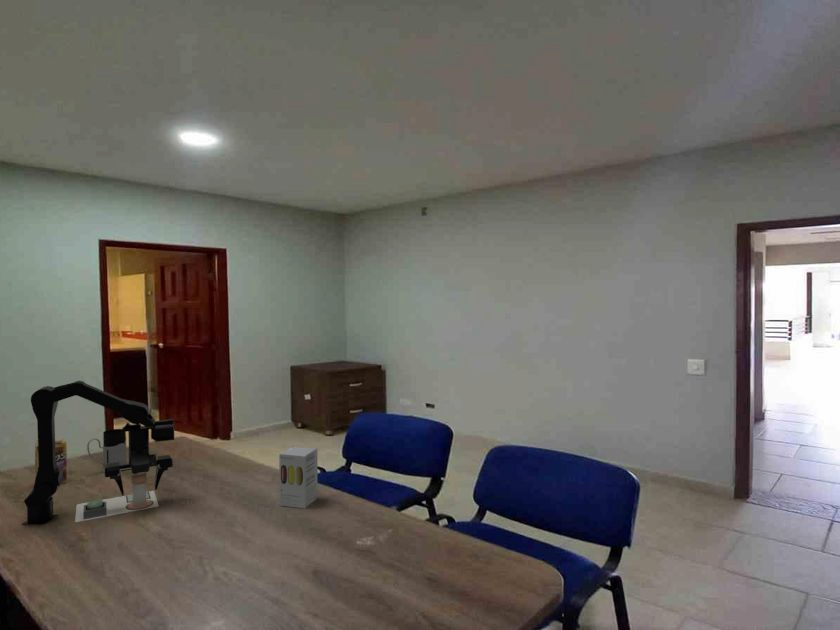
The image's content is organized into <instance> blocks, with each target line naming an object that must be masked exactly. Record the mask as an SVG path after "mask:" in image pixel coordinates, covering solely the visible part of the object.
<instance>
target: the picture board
mask: <svg viewBox="0 0 840 630" xmlns="http://www.w3.org/2000/svg"><path fill="white" fill-rule="evenodd" d="M101 500H102V501H103V502H105V501H106V515H104V516H99V517H94V518H88V519H84V513H83V511H84V505H87V503H89V502H90V501H89V502H82V503H78V504H76V508H75V519H74V523H80V522H87V521H89V520H90V521H91V520H96V519H102V518H106V517H110V516H116V515H121V514H126V513H127V514H128V513H132V512H137V511H141V510H147V509H152V508H158V507H159V506H160V505H159V503H158V499H157V496H156V492H155V490H149V491H147V504H145V505H143V506H138V507H134V506H133V505H132V494H128V495H127V494H126V495H124V496H122V495H121V496H116V497H112V498H104V499H101Z"/></svg>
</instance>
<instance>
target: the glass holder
mask: <svg viewBox="0 0 840 630" xmlns="http://www.w3.org/2000/svg"><path fill="white" fill-rule="evenodd" d="M121 430H122V428H114V429H108V430H105V431H103V437H102V438H103V445H102V446H101V441H100V440H99V439H98V438H92V439H90V440H89V441H88V442H87V444H86V446H87V448H86V449H87V453H88V455H89V457H90V458H91V459H92V460H93V461H95V462H97V463H99V464H100V465H102V470H101V472H102V473H104V474H105V465H106V464H109V463H116V462H119V465H124V464H128V463H127V462H128V461H127V458H128V456H127V434H126V432H122V431H121ZM94 440H96V441H97V442H98V447H99V448H100V449H102V451H103V452H102V456H103V457H102V458H103V459H102V460H103V462H101V461H99V460H97V459H95V458H94V456H92V454H91V451H90V443H91V442H93V441H94Z"/></svg>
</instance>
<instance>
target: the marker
mask: <svg viewBox="0 0 840 630" xmlns="http://www.w3.org/2000/svg"><path fill="white" fill-rule="evenodd" d="M147 473H148V472H141V473H137V474H133V473H132V474H131V491H132V492H131V495H132V505H133V506H134V507H138V506H143V505H145V504H147V492H148V490H147V481H148V479H147V478H148V477H147Z"/></svg>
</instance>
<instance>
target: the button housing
mask: <svg viewBox="0 0 840 630" xmlns="http://www.w3.org/2000/svg"><path fill="white" fill-rule="evenodd" d="M83 513H84V519H88V518H94V517H99V516H104V515H106V501H105V502H103V507H101V508H98V509H93V510H88V509H87V505H84V511H83Z"/></svg>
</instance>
